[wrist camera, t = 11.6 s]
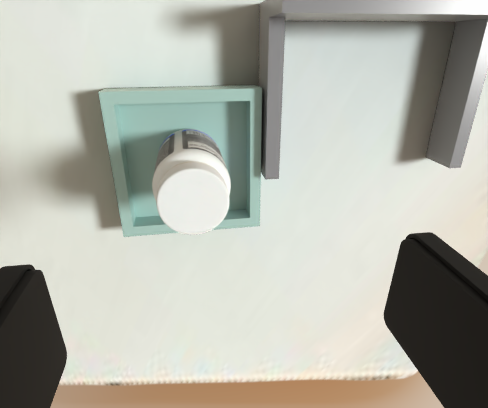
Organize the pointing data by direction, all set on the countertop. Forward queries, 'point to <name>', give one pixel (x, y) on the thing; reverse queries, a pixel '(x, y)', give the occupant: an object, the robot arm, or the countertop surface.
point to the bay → (383, 9)
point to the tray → (174, 119)
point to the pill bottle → (191, 182)
